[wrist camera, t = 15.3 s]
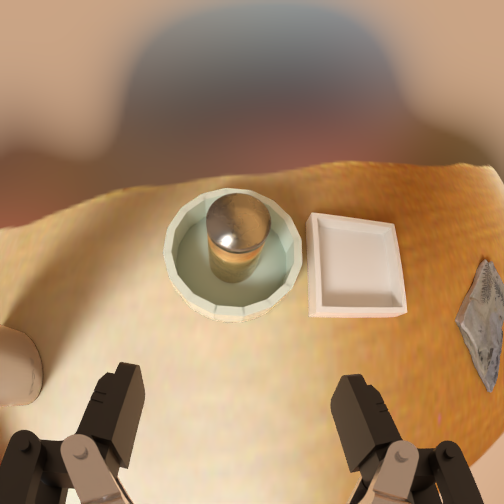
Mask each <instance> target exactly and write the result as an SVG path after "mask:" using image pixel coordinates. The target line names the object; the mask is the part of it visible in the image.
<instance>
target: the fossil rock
mask: <svg viewBox="0 0 504 504" xmlns="http://www.w3.org/2000/svg"><path fill="white" fill-rule="evenodd" d="M503 321H504V284H503V282H502V280H501V278H500V276H499V274H498V272H497V271H496V269H495V267H494V264H493V262H492V261H490V262H489V263H488V261H487V260H486V259H485V260H484V261H483V262H481V263H480V265H479V267H478V268H477V271H476V274H475V277H474V282H473V284H472V286H471V288H470V290H469V291H468V293H467V294H466V296H465V298H464V300H463V302H462V305H461V307H460V309H459V312H458V314H457V316H456V319H455V322H456V323H457V325H458V327H459V329H460V332H461V334H462V336H463V339H464V342H465V344H466V345H467V347H468V349H469V351H470V354H471V356H472V360H473V363H474V366H475V368H476V369H477V371H478V374H479V376H480V377H481V379H482V381H483V383H484V384H485V386H486V388H487V391H488V392H492V390H493V387H494V386H495V384H496V381H497V377H498V370H499V363H500V354H501V348H502V339H503V331H502V325H503Z"/></svg>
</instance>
